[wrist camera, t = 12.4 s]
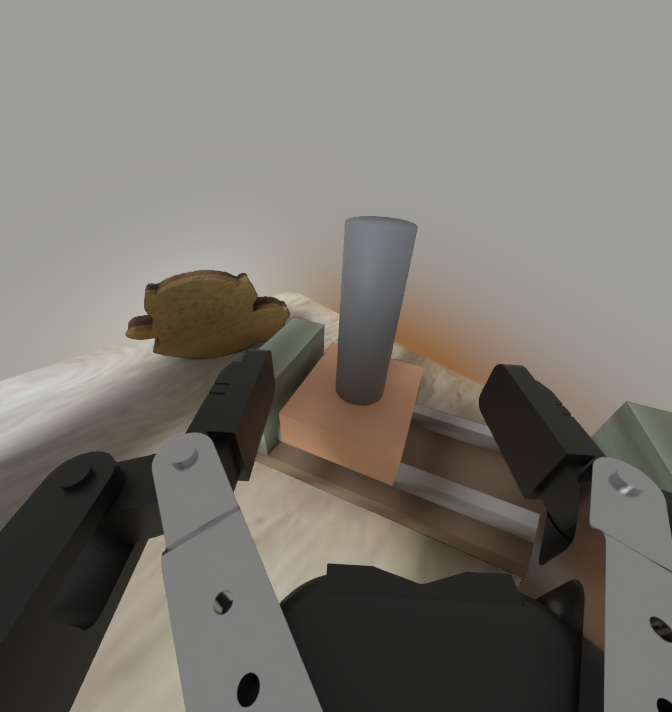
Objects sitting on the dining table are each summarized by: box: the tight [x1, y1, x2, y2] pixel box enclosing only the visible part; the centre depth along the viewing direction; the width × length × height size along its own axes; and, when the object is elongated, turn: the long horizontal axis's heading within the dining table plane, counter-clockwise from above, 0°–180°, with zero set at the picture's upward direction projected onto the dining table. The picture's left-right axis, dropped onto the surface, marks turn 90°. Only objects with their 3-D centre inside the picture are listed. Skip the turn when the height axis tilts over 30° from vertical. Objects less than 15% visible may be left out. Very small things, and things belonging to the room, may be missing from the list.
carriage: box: [279, 216, 424, 486], centre depth 18 cm, size 8×9×14 cm
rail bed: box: [255, 317, 672, 578], centre depth 20 cm, size 28×10×8 cm, turn 68°
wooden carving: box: [126, 270, 290, 358], centre depth 30 cm, size 16×5×10 cm, turn 118°
